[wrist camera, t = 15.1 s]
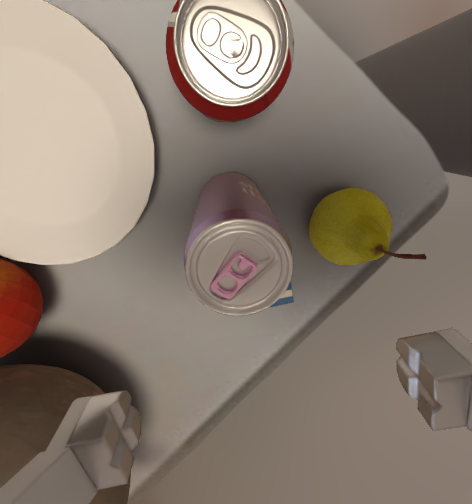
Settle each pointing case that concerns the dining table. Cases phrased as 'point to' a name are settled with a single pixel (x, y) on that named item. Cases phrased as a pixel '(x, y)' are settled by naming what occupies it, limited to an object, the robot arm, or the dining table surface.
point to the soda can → (229, 54)
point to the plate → (66, 139)
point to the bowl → (40, 417)
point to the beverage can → (236, 249)
